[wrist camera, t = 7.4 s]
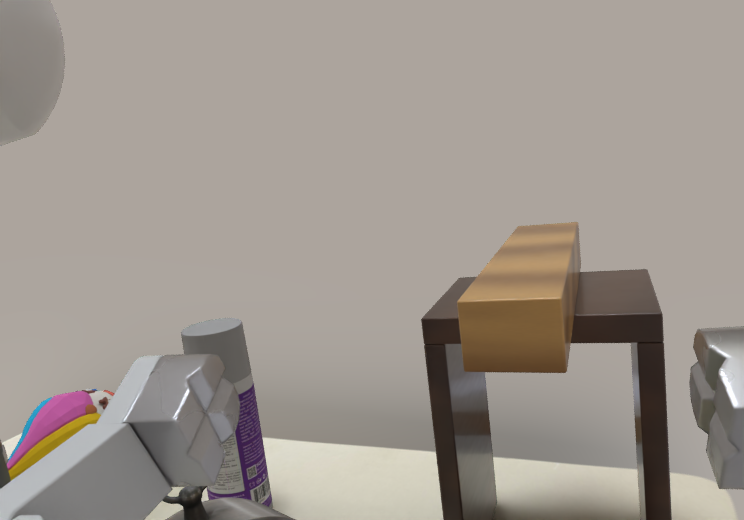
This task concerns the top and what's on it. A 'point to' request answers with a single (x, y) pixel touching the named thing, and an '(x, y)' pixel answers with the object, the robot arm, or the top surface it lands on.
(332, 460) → the top surface
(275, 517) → the alarm clock
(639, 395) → the shelf
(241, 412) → the container
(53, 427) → the toy
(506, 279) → the block
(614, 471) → the top surface
